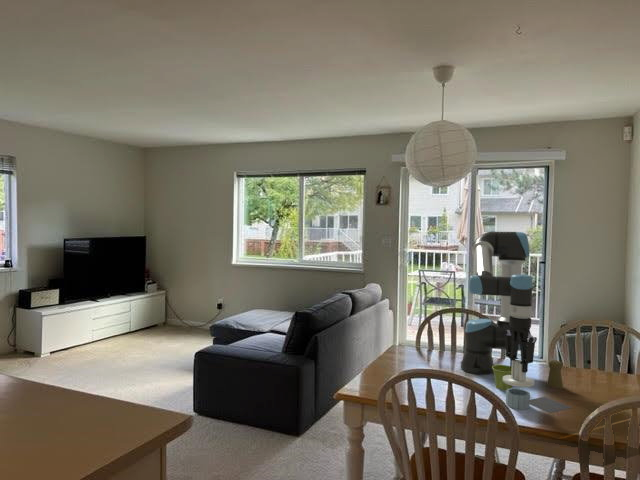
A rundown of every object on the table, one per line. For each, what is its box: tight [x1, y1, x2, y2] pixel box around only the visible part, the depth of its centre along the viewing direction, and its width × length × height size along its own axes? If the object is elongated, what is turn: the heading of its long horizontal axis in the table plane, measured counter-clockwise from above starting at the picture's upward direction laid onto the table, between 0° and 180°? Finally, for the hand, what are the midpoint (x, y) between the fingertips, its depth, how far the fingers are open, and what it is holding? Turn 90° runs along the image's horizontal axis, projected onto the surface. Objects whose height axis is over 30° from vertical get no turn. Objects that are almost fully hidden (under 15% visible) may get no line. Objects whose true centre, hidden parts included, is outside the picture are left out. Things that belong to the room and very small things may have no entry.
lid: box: [503, 359, 535, 388], centre depth 176 cm, size 11×11×8 cm
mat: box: [530, 396, 573, 414], centre depth 178 cm, size 12×12×1 cm
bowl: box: [505, 387, 531, 411], centre depth 177 cm, size 8×8×6 cm
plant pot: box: [492, 364, 513, 391], centre depth 196 cm, size 9×9×9 cm
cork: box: [546, 359, 564, 390], centre depth 199 cm, size 6×6×11 cm
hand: (518, 378), depth 176 cm, fingers closed on lid, 3 cm apart
